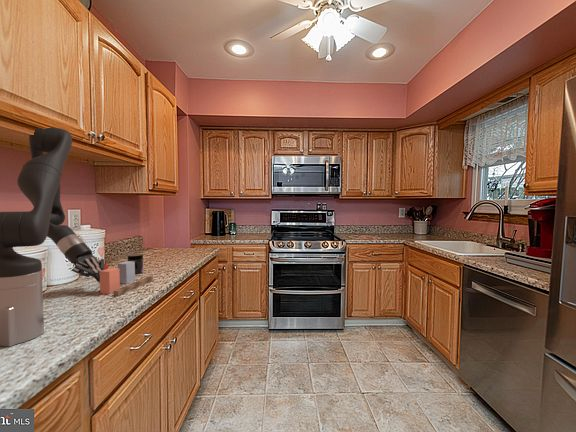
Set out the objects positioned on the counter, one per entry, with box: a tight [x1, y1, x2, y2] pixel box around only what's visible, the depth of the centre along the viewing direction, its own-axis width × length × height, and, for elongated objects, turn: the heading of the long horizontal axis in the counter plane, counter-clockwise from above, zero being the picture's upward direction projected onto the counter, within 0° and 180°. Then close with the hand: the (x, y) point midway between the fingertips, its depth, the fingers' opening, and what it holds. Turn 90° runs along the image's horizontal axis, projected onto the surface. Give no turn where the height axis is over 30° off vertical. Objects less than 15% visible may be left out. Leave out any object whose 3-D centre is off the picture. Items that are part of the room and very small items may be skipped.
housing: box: [112, 276, 154, 297], centre depth 108 cm, size 20×14×3 cm
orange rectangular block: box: [99, 267, 121, 295], centre depth 102 cm, size 5×4×8 cm
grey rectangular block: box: [117, 260, 136, 285], centre depth 114 cm, size 5×4×8 cm
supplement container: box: [126, 253, 144, 276], centre depth 129 cm, size 7×7×10 cm
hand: (103, 281), depth 102 cm, fingers closed
